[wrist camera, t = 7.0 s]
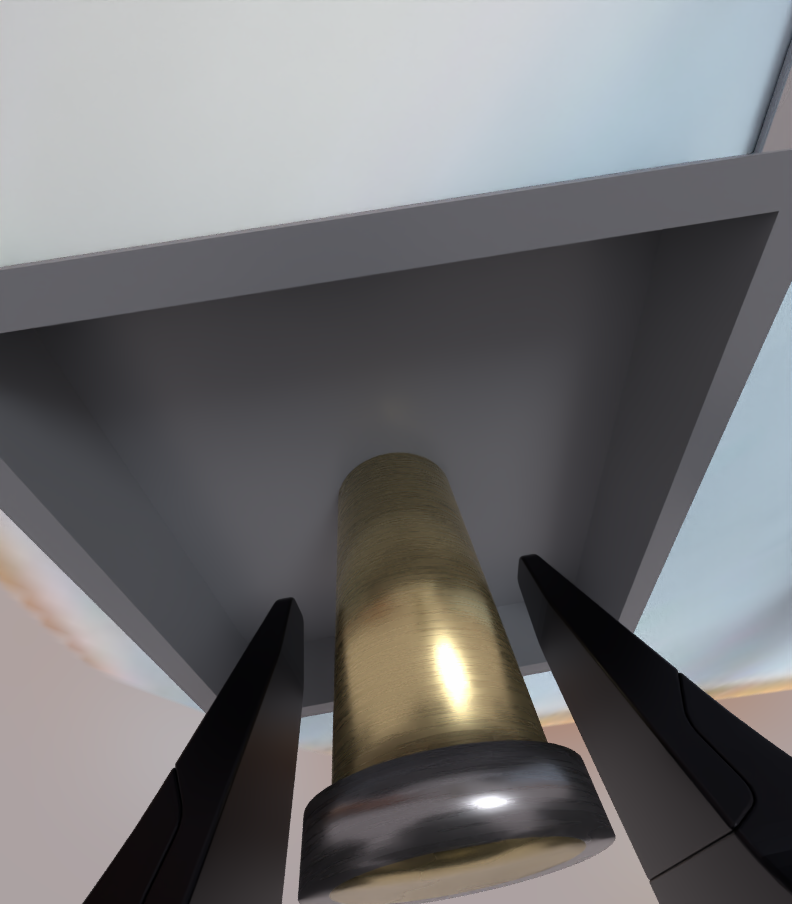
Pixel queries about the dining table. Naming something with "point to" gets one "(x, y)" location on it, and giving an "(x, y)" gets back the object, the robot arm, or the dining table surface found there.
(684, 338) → the tray
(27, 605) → the dining table surface
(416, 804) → the gold cylinder with rim
